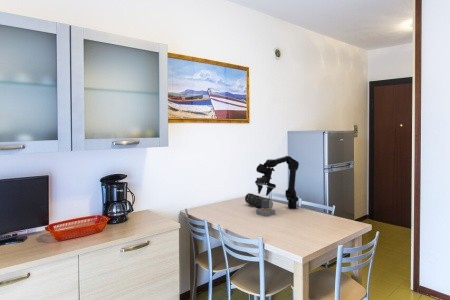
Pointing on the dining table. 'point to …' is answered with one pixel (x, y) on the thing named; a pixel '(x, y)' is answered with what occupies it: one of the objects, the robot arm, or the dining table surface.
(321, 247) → the dining table surface
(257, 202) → the black cylindrical piece
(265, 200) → the plug
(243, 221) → the dining table surface
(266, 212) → the socket block
